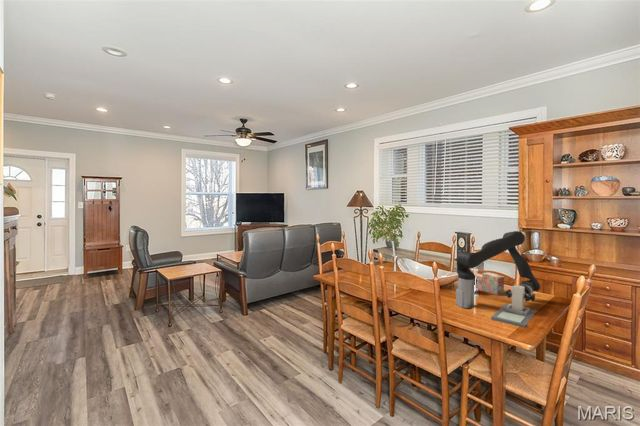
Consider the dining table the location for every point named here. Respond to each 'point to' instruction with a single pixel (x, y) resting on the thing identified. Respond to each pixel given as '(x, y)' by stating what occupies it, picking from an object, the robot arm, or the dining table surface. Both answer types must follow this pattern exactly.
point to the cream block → (518, 297)
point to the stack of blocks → (490, 283)
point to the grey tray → (513, 315)
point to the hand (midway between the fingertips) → (517, 298)
